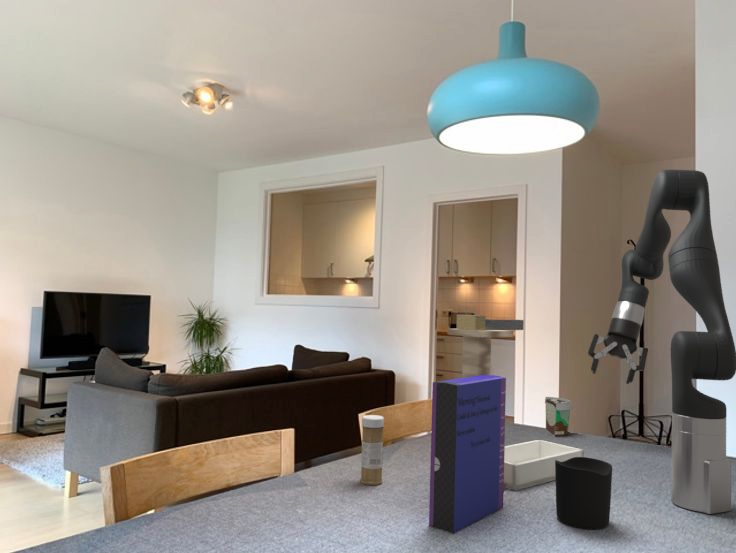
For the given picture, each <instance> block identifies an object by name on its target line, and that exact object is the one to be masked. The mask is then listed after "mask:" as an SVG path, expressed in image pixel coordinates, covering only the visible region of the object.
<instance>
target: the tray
mask: <svg viewBox="0 0 736 553" xmlns="http://www.w3.org/2000/svg"><path fill="white" fill-rule="evenodd" d="M574 457H585V449H582V448H577V447H572V446H569V445H565V444H560V443H555V442H550V441H546V440H542V439H536V440H530V441H525V442H521V443H520V442H519V443H515V444H510V445H505V448H504V484H506V488H505V489H508V490H512V491H514V492H515V491H516V492H517V491H520V490H523V489H526V488H531V487H535V486H538V485H542V484H545V483H549V482H553V481H556V477H555V460H558V461H559V462H563V461H566V460H568V459H571V458H574Z"/></svg>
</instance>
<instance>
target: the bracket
mask: <svg viewBox="0 0 736 553" xmlns="http://www.w3.org/2000/svg"><path fill="white" fill-rule="evenodd" d="M447 335H449V336H462V363H461V364H462V367H461V368H462V369H461V372H462V373H461V378H466V377H473V376H480V375H491V362H492V361H491V354H492V353H491V352H492V338H509V337H510V338H513V337H514V330H485V331H474V330H460V329H457V328H447ZM506 489H507V488H506V484H504V491H506Z"/></svg>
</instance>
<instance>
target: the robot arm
mask: <svg viewBox="0 0 736 553" xmlns="http://www.w3.org/2000/svg"><path fill="white" fill-rule="evenodd" d="M710 204H711V203H710V188H709V182H708V178H707V175H706V174H705V173H704V172H703V171H700V170H694V169H663V170H660V171H659V172H658V173H657V174H656V175H655V178H654V180H653V183H652V186H651V189H650V194H649V198H648V203H647V208H646V212H645V218H644V223H643V227H642V230H641V232H640V235H639V237H638V239H637V242H636V244H635V249H629V250H628V251H626V252H625V253H624V254H623V256H622V258H621V287H620V292H619V294H618V299H617V302H616V304H615V308H614V310H613V312H612V315H611V320H610V323H609V326H608V330H607V334H606V336H605V337H603V336H600V335H599V334H597V333H595V334H594V335H593V337H592V341H591V343H590V346H589V348H588V352H587V354H588V356H589V357H591V358H592V359H593V360H592V363H591V368H590V370H591V372H592V374H593V375H596V373H597V370H598V366H599V362H600V359H602V358H603V357H605V356H607V355H609V356H611V357H617V358H619V359H620V360H624V359H625V360H626V362H627V364H628V366H629V367H630V369H629V371H628V375H627V378H626V381H625V384H627V385H629V384H630V383H631V384H632V382H633V381H634V378H635V374H636V372H639V371H640V372H643V371H644V369H645V367H646V362H647V357H648V351H649V349H648V347H639V346H637V342H638V338H639V335H640V332H641V327H642V324H643V321H644V316H645V309H646V305H647V302H648V298H649V295H650V290H649V288H648V287H646V286H645V285H643V284H641V283H639V282H638V281H636V280H635V278H634V277H637V278H641V279H644V280H647V281H648V280H649V281H653V280H657V279H658V278H660V277H661V275H662V274H663V271H664V263H665V262H664V253H665V251H666V250H667V247H668V245H669V243H670V241H671V238H672V229H671V227H670V224H669V223H668V221H667V219H666V218H665V216H664V214H663V210H667V211H686V212H688V213H689V215H690V216H689V217H690V219H689V220H688V223H687V224H686V226H685V227H684V229H683V230H682V232H681V233H680V234H679V235H678V236H677V237H676V239H675V241H674V242H673V243H672V245H671V246H670V249H669V251H668V256H667V259H668V268H669V276H670V277H669V278H670V282H671V284H672V286H673V288H674V289H675V291H677V293H678V294H679V295H680V296H681V297H682V298H683V299H684V300H685V301H686V302H687V303H688V305H689V306H691V307H692V308H693V309H694V310H695V312H696V313H697V314H698V315H699V317H700V318H701V321H702V322H703V323H704V325H705V328H706V331H694V330H693V331H691V330H690V331H687V330H685V331H683V330H681V331H676V332H675V333H674V334H673V336H672V338H671V342H670V348H669V349H670V350H669V351H670V368H671V369H670V370H671V478H670V479H671V488H670V489H671V496H670V497H671V499H670V500H671V502H672V503H673V505H676V506H679V507H681V508H683V509H686V510H689V511H690V510H691V511H695V512H699V513H700V512H701V513H704V514H707V515H714V514H719V513H725V512H731V511H732V459H730V458H727V404H726V403H725V402H724V401H722V400H720V399H718V398H715V397H712V396H709V395H707V394H705V393H703V392H701V391H699V390H698V389H697V388H695V386H694V385H693V380H702V381H703V380H705V381H729V380H731V379H733V377H734V376H735V375H736V346H735V342H734V341H735V340H734V337H733V333H732V329H731V326H730V321H729V318H728V314H727V310H726V306H725V301H724V295H723V289H722V281H721V273H720V266H719V260H718V253H717V249H716V248H717V247H716V245H715V244H716V243H715V239H714V235H713V234H714V233H713V228H712V219H711V205H710ZM601 342H603V344H604V348H603V349H602V350H600V351H599V352H597V353H595V349H596V347H597V345H599V344H601ZM635 352H637V353H638V356H640V360H639V365H636V363H635V361H634V357H633V356H632V355H633V354H634V353H635Z"/></svg>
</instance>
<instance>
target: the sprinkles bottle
mask: <svg viewBox="0 0 736 553" xmlns="http://www.w3.org/2000/svg"><path fill="white" fill-rule="evenodd" d="M384 426H385V418H384V416H382V415H377V414H376V415H375V414H369V415H363V416H362V417H361V427H362V433H361V434H362V440H361V460H360V462H361V464H360V465H361V467H360V468H361V472H360V473H361V475H360V482H361V483H362V484H364V485H367V486H376V485H381V484H382V482H383V463H384V462H383V458H384V457H383V455H384V451H383V448H384V446H383V445H384V444H383V442H384V437H383V436H384Z"/></svg>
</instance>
